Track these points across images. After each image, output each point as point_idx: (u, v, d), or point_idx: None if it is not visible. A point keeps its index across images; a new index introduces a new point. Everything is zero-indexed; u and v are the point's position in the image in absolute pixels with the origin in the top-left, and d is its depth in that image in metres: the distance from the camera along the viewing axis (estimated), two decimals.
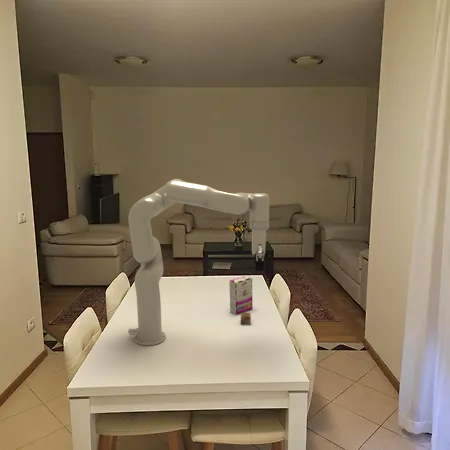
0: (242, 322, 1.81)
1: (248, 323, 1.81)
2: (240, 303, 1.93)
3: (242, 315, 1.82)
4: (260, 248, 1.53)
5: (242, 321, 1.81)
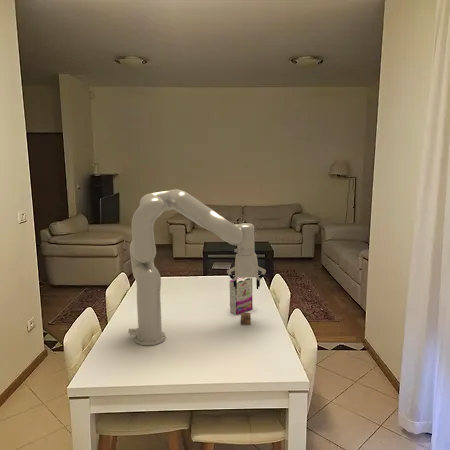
0: (242, 322, 1.81)
1: (248, 323, 1.81)
2: (240, 303, 1.93)
3: (242, 315, 1.82)
4: (261, 268, 1.79)
5: (242, 321, 1.81)
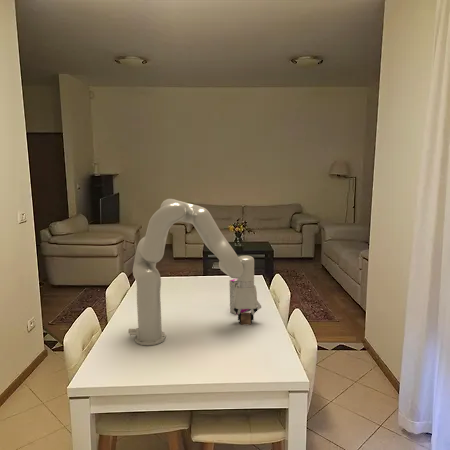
0: (242, 322, 1.81)
1: (248, 323, 1.81)
2: None
3: (242, 315, 1.82)
4: (258, 302, 1.82)
5: (242, 321, 1.81)
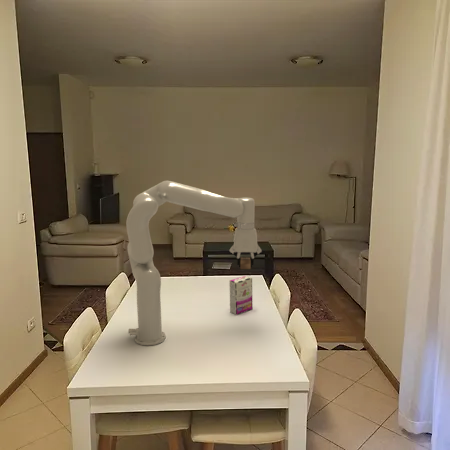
0: (242, 266, 1.77)
1: (248, 267, 1.77)
2: (240, 303, 1.93)
3: (242, 259, 1.77)
4: None
5: (242, 265, 1.77)
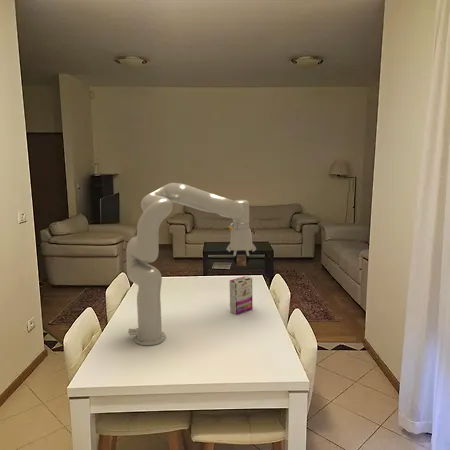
0: (238, 263, 1.91)
1: (243, 264, 1.91)
2: (240, 303, 1.93)
3: (238, 256, 1.92)
4: (253, 245, 1.92)
5: (238, 262, 1.91)
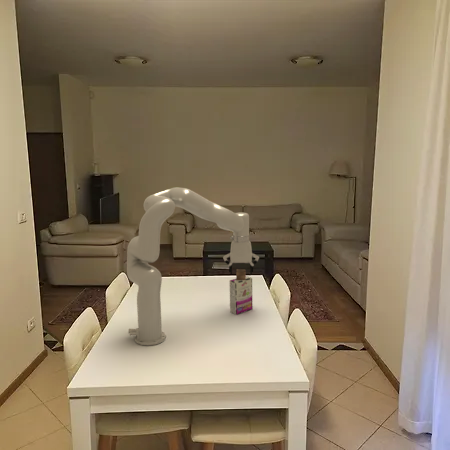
0: (237, 277, 1.92)
1: (243, 278, 1.92)
2: (240, 303, 1.93)
3: (237, 271, 1.93)
4: None
5: (237, 276, 1.92)
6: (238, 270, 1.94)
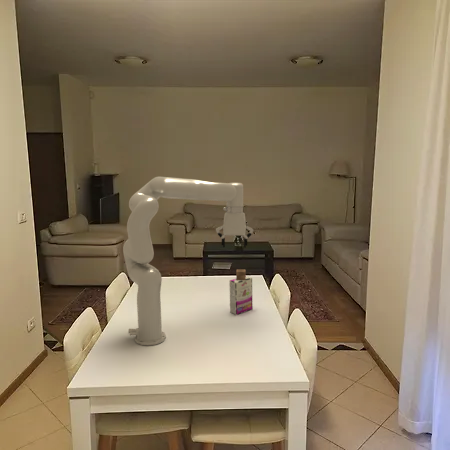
0: (237, 277, 1.92)
1: (243, 278, 1.92)
2: (240, 303, 1.93)
3: (237, 271, 1.93)
4: (249, 227, 1.84)
5: (237, 276, 1.92)
6: (238, 270, 1.94)
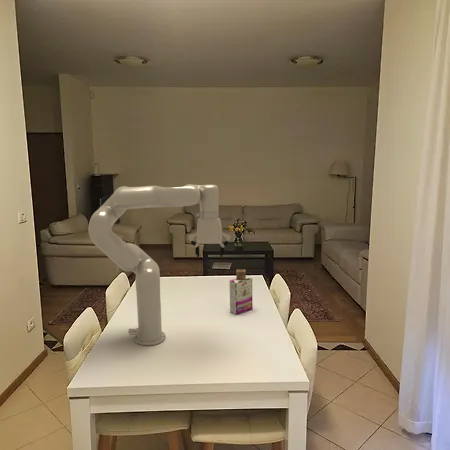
0: (237, 277, 1.92)
1: (243, 278, 1.92)
2: (240, 303, 1.93)
3: (237, 271, 1.93)
4: (226, 234, 1.65)
5: (237, 276, 1.92)
6: (238, 270, 1.94)
